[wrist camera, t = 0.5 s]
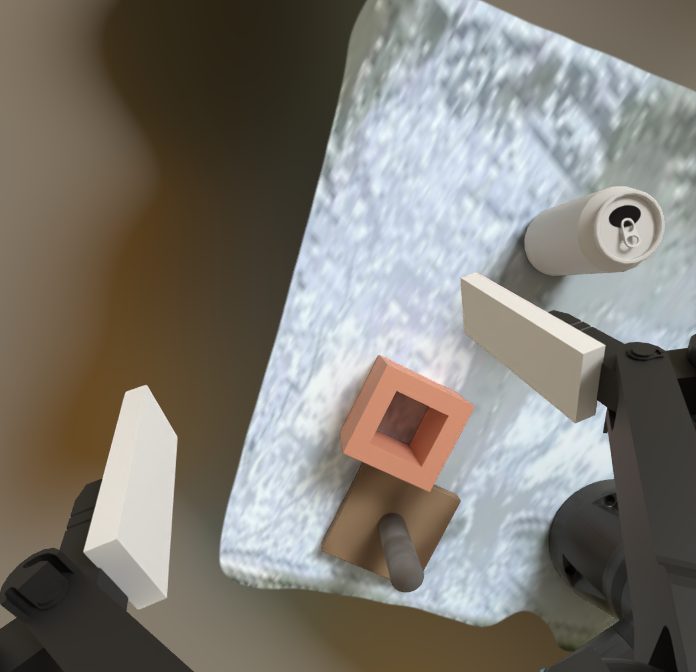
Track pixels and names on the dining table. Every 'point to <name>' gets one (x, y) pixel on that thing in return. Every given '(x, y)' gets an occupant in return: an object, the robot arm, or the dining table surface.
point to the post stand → (390, 526)
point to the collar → (430, 438)
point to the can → (596, 233)
